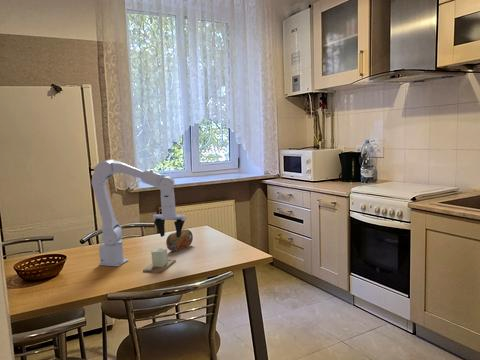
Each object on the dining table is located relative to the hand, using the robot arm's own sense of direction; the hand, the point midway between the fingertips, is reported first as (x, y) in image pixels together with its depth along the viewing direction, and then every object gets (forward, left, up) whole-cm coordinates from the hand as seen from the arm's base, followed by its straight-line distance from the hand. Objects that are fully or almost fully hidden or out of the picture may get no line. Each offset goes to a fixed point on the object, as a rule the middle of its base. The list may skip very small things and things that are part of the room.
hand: (170, 236), depth 163 cm
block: (-1, -8, -10) cm, 13 cm away
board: (-2, -8, -11) cm, 14 cm away
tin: (-4, +15, -11) cm, 19 cm away
